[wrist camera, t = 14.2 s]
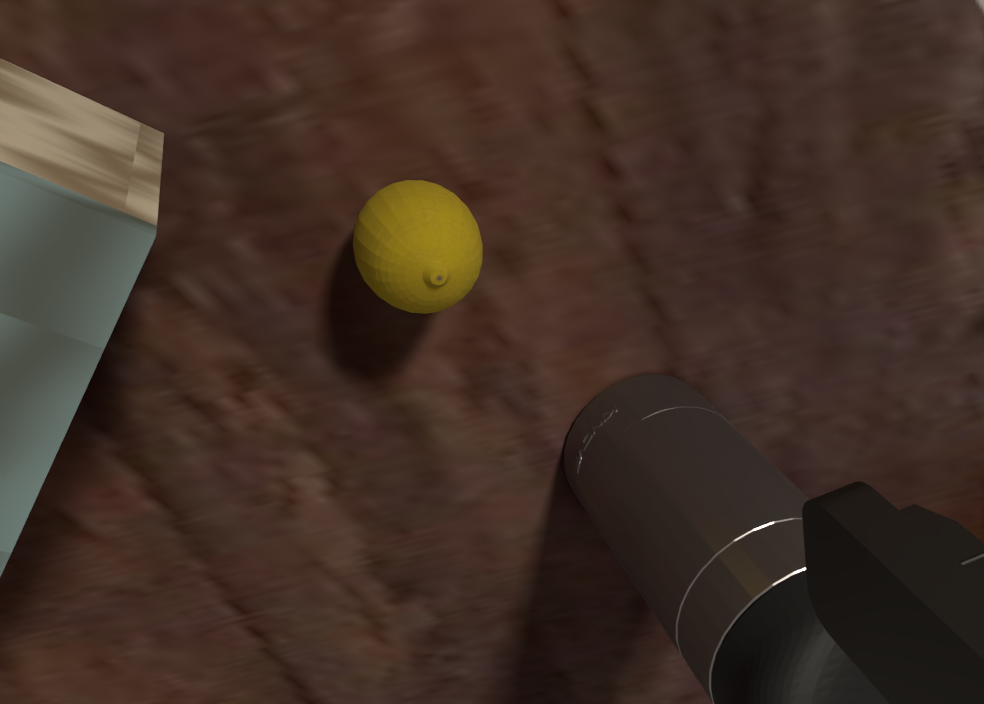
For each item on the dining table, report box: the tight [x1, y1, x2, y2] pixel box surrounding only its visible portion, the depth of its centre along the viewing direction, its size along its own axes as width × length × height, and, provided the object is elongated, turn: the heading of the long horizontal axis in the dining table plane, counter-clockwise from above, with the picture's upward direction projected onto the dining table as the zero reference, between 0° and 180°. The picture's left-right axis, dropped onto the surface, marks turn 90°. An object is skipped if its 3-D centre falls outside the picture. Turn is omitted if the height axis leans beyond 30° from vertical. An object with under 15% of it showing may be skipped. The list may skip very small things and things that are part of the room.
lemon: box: [353, 180, 482, 314], centre depth 41 cm, size 6×6×8 cm
